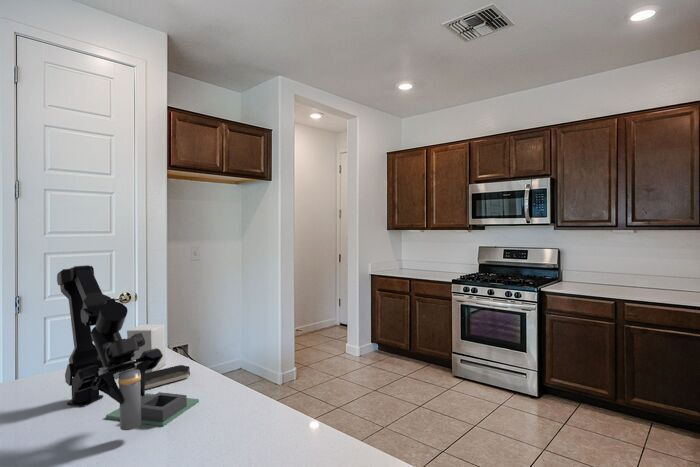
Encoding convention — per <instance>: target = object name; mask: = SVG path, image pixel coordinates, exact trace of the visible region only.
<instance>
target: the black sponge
mask: <svg viewBox="0 0 700 467" xmlns="http://www.w3.org/2000/svg"><path fill="white" fill-rule="evenodd" d="M190 376H191V370H190V366H187V365H183V364H180V365H179V364H178V365H175V366H170V367H166V368H160V369H158V370H156V371H153V372H148V373H145V390H146V389H150V388H155V387H158V386H161V385H166V384H169V383H172V382H173V383H174V382H176V381H180V380H183V379H187V378H189V377H190Z"/></svg>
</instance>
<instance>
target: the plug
mask: <svg viewBox="0 0 700 467" xmlns="http://www.w3.org/2000/svg"><path fill="white" fill-rule="evenodd" d="M117 379H118V381H117V382H118V388H119V390H120V392H121V394H122V397H123V400H124V402H123V404H120V403H119V408H120V420H119V427H120V430H121V431H132V430H135V429H138V428H139V427H141V425H143V423H142V420H141V384H140V380H141V373H140V370H126V371H122V372H119V373H118V378H117Z"/></svg>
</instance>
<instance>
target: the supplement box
mask: <svg viewBox="0 0 700 467" xmlns="http://www.w3.org/2000/svg"><path fill="white" fill-rule="evenodd" d="M165 328H166V327H165V323H164V324H163V323H161V324H158V323H157V324H156V323H154V324H153V323H151V324H149V323H148V324H147V323H146V324H144V323H143V324H142V323H141V324H139V325H137V326H134V327H131V328H129V329H128V330H126V336H127V338H126V339H128V338H132V336H133V335H134V334H138V333H142V335H143V336H144V339H145V345H143V346H142V347H139V350H136V351H135V352H134V353H135V355H134V357H132V358H131V360H135V359H138V358H140V357H141V355H142V353H143V352H144V351H148V350H152V349H155V348H157V349H159V350H161V352H162V354H163V357H162V358H161V360H160V361H159V363H158V364H157V366H156V367H155V368H153V369H150V370H147V371H145V373H148V372H153V371H157V370H160V369H162V368H163V367H164V366H166V365H167V359H166V358H167V357H166V331H165V330H166V329H165ZM129 370H132V369H129Z"/></svg>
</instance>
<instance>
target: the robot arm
mask: <svg viewBox="0 0 700 467" xmlns="http://www.w3.org/2000/svg"><path fill="white" fill-rule="evenodd" d="M56 283H57V286H59V288H60V292H61V293H62V294H63V295H64V296H65V297H66V298H67V299H68V306H69V314H70V322H71V324H70V325H71V330H72V340H73V350H72V352H71V353H70V356H69V358H68V364H67V366H66V370H65V373H64V379H65V384H67V385H68V386H69V387H71V400H69V401H66V405H70V406H77V407H86V406H88V405H90V404H92V403H94V402H96V401H98V400H101V399H102V398H104V395H103V394H106V395H107V396H109V397H110V398H111V399H113V400H115V402H117V403H118V404H119V405H120V404H123V402H124V400H123V397H122V394H121V392H120V390H119V385H118V384H117V381H116V380H115V374H120V373H121V372H124V371H127V370H129V369H132V370H140V373H141V380H140V384H141V396H142V397H143V396H144V395H145V394H146V391H145V390H146V389H145V371H147V370H150V369H153V368H155V367H156V366H157V364H158V363H159V361H160V360H161V358H162V357H163V354H162V352H161V350H159V349H157V348H155V349H152V350H148V351H144V352H143V353H142V355H141V357H140V358H138V359H135V360H131V358H132V357H134V355H135V353H134V352H135V351H136V350H139V347H142V346H143V345H145V339H144V336H143V335H142V333H138V334H134V335H133V336H132V338H128V339H127V338H122V335H121V333H120V331H121V330H122V328H123V326H124V323H125V320H126V317H127V315H128V313H129V312H128V308H127V306H126V305H125V304H123V303H122V302H119V301H116V298H114V297H113V298H112V297H110V296H109V295H106V294H104V293H103V292H102V290H101V286H100V285H99V283H98V281H97V279H96V276H95V269H94V266H92V265H89V264H88V265H86V264H85V265H74V266H73V267H70V268H63V269H61V270H60V271H58V273H57V274H56ZM93 326H94V327H93ZM91 327H93V328H91ZM100 392H102V393H103V394H100Z"/></svg>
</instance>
